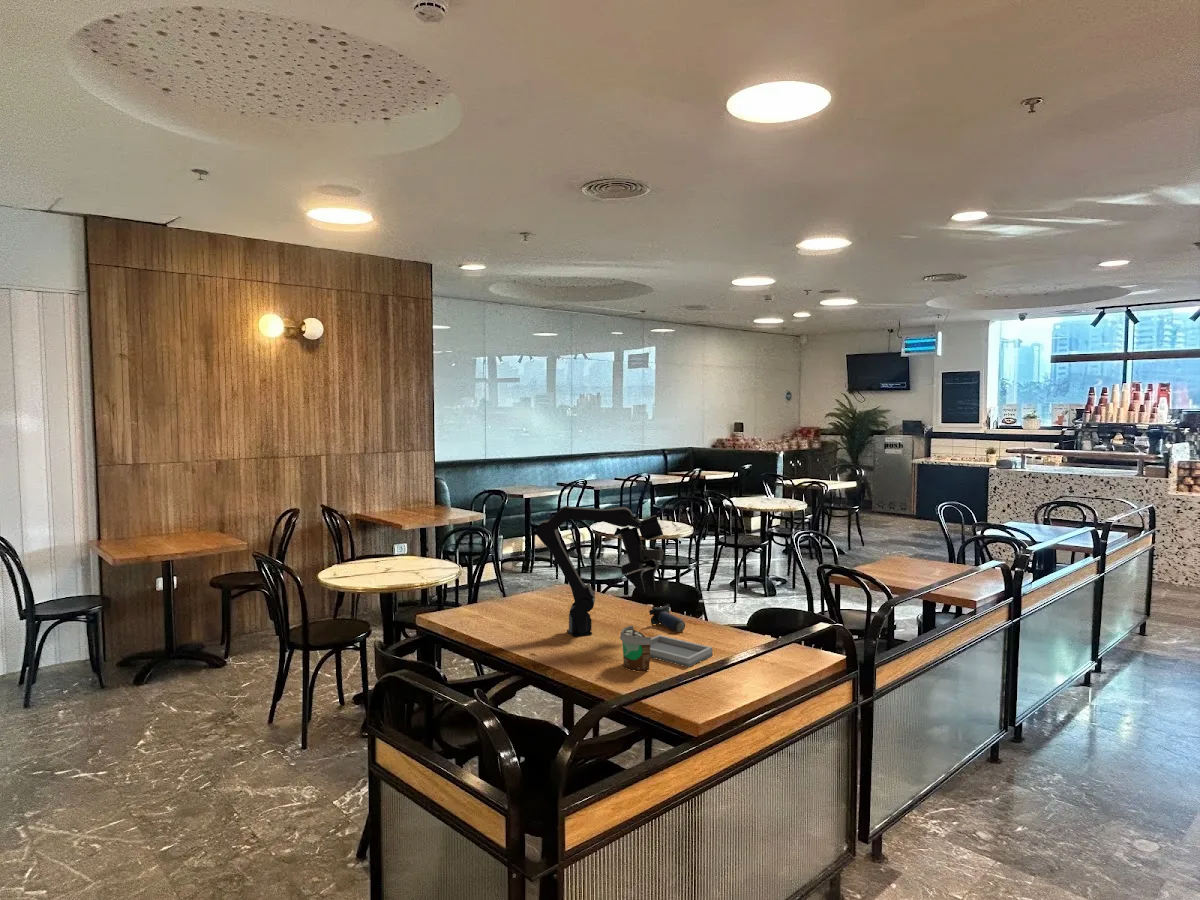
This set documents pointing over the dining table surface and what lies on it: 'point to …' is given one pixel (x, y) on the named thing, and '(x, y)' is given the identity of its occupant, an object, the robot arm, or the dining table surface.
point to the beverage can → (666, 618)
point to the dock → (678, 651)
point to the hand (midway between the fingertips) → (648, 592)
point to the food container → (635, 649)
